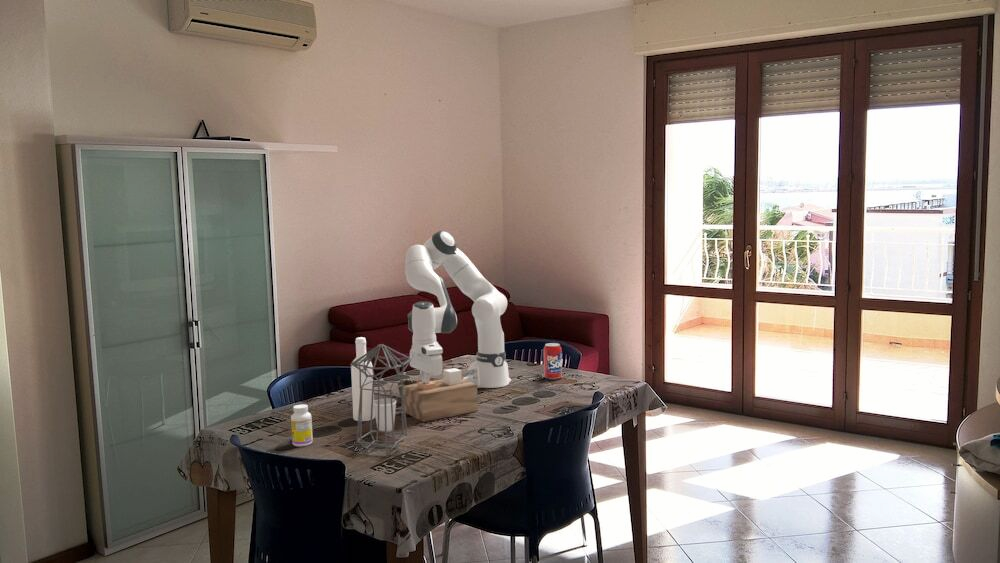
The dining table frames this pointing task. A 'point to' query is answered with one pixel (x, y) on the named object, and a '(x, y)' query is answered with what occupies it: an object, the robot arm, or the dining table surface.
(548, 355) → the soda can
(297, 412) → the supplement bottle
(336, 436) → the dining table surface
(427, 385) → the peg terracotta
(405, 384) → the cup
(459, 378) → the white rectangular block
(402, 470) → the dining table surface
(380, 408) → the dixie cup
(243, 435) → the dining table surface
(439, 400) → the light wood block
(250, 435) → the dining table surface
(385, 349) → the geometric lantern
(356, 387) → the bottle
